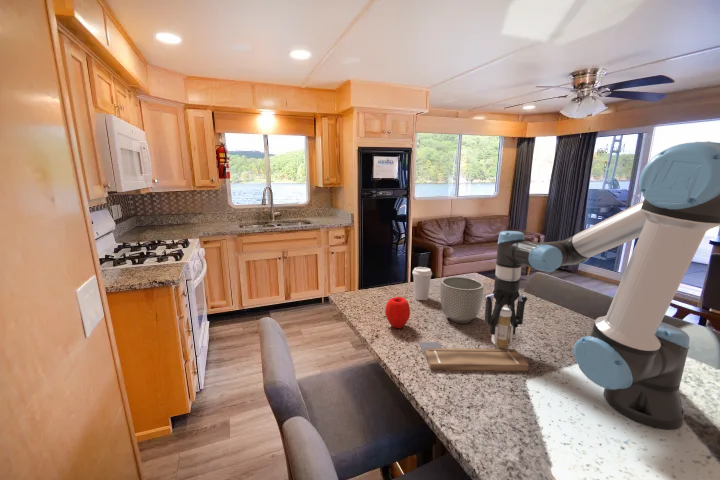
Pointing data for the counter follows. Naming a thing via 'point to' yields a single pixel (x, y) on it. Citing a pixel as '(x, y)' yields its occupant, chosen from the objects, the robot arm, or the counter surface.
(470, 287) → the planter
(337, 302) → the counter surface
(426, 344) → the end pad
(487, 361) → the board
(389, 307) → the apple
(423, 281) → the coffee cup
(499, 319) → the spice jar
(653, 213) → the robot arm
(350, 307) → the counter surface
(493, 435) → the counter surface
